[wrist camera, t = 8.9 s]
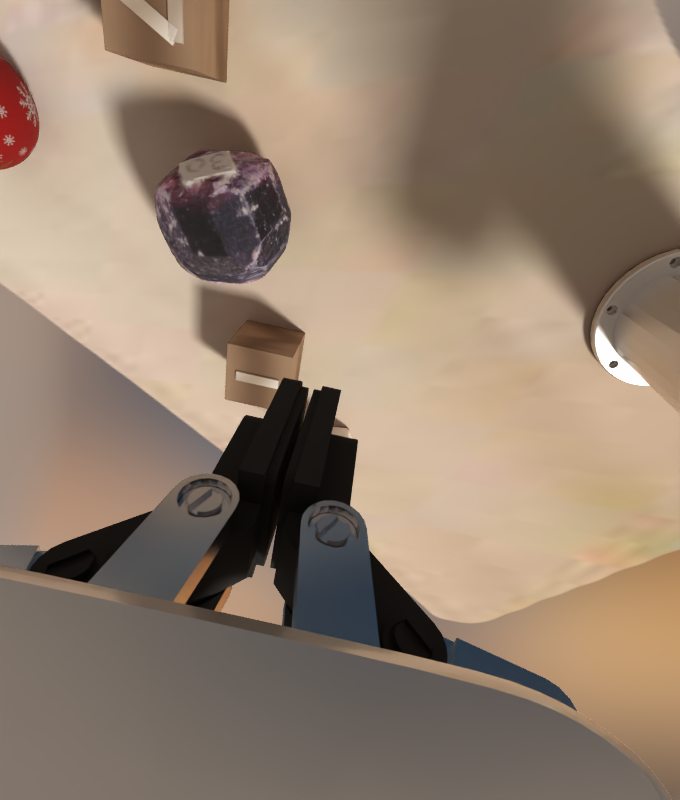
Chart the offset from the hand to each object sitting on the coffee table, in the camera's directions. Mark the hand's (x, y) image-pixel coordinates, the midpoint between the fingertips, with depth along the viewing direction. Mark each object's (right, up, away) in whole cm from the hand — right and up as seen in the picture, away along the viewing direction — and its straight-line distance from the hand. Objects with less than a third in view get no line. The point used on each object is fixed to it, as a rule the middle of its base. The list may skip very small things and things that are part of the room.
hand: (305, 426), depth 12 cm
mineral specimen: (-8, +18, +25) cm, 31 cm away
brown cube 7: (-10, +29, +18) cm, 35 cm away
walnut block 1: (-6, +6, +32) cm, 33 cm away
